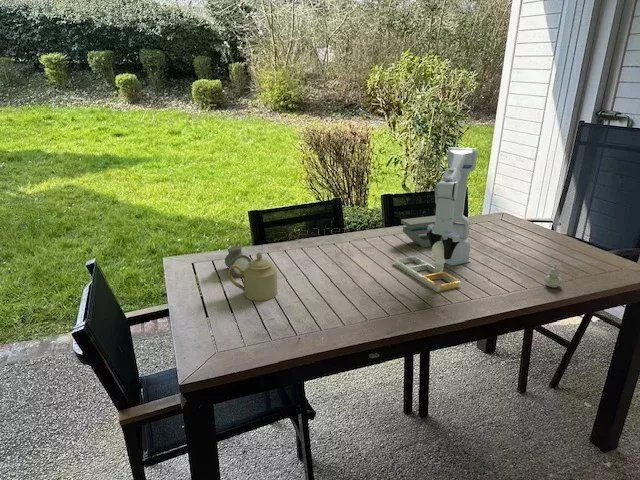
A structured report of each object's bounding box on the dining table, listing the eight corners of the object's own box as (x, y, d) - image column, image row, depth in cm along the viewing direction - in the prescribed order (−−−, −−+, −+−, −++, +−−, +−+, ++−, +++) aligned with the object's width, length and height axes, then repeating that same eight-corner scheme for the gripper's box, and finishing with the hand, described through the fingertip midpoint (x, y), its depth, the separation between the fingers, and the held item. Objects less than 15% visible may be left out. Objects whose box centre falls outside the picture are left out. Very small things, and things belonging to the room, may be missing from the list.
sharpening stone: (448, 236, 204) (450, 213, 200) (458, 242, 197) (461, 218, 193) (399, 243, 196) (401, 219, 193) (408, 249, 189) (410, 224, 186)
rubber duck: (539, 285, 153) (543, 264, 150) (550, 281, 156) (554, 260, 154) (555, 291, 148) (559, 269, 146) (566, 286, 152) (570, 264, 149)
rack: (414, 260, 176) (415, 255, 176) (460, 287, 152) (461, 281, 152) (393, 264, 173) (393, 259, 172) (437, 292, 149) (437, 286, 148)
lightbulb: (449, 275, 151) (452, 245, 147) (429, 273, 152) (432, 243, 148) (448, 268, 156) (451, 238, 153) (429, 266, 158) (432, 237, 154)
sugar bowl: (241, 307, 140) (238, 263, 135) (228, 294, 149) (225, 252, 144) (283, 296, 148) (281, 253, 143) (269, 284, 157) (266, 244, 152)
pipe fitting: (254, 273, 165) (249, 247, 162) (234, 279, 161) (228, 253, 158) (243, 266, 175) (238, 241, 172) (224, 272, 171) (218, 247, 169)
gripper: (421, 213, 153) (418, 250, 157) (448, 224, 140) (444, 264, 144) (438, 211, 155) (435, 247, 160) (466, 221, 142) (462, 261, 147)
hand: (441, 255), depth 152 cm, fingers closed on lightbulb, 6 cm apart
